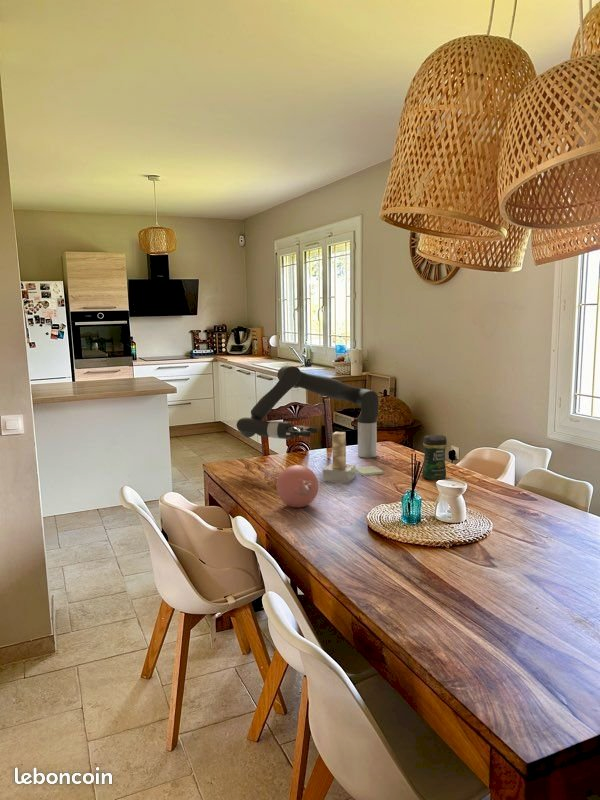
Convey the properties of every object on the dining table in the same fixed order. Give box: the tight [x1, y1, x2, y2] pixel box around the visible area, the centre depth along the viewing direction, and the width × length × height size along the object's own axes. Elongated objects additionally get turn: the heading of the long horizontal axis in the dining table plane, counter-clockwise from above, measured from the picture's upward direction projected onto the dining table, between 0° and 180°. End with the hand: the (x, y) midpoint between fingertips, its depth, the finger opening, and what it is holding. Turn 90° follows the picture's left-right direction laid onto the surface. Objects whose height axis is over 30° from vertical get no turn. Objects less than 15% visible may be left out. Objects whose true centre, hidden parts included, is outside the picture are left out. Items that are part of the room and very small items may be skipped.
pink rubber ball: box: [275, 464, 319, 508], centre depth 206 cm, size 15×20×15 cm
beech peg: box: [331, 431, 347, 469], centre depth 242 cm, size 4×4×20 cm
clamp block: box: [322, 462, 356, 484], centre depth 243 cm, size 11×11×5 cm
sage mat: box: [355, 465, 384, 477], centre depth 253 cm, size 10×10×1 cm
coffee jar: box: [421, 434, 448, 481], centre depth 241 cm, size 10×8×19 cm
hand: (314, 432), depth 245 cm, fingers open, 8 cm apart
